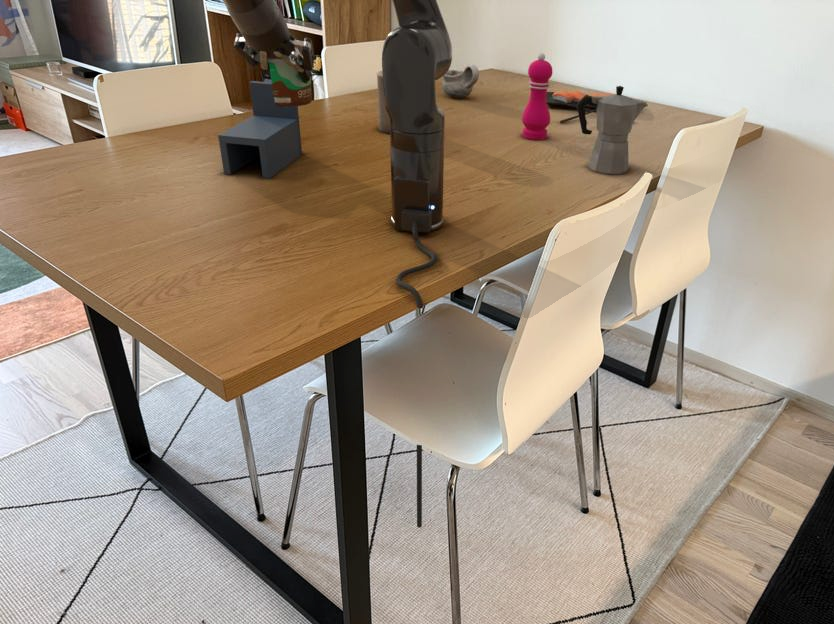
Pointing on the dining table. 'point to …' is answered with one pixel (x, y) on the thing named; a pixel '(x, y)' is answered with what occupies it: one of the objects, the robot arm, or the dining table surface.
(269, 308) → the dining table surface
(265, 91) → the blue toy chair
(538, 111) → the pepper mill
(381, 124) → the pillar candle
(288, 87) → the food container
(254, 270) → the dining table surface
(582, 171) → the dining table surface
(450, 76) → the grey curved hollow piece
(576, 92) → the sushi plate
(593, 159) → the coffeepot
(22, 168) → the dining table surface
